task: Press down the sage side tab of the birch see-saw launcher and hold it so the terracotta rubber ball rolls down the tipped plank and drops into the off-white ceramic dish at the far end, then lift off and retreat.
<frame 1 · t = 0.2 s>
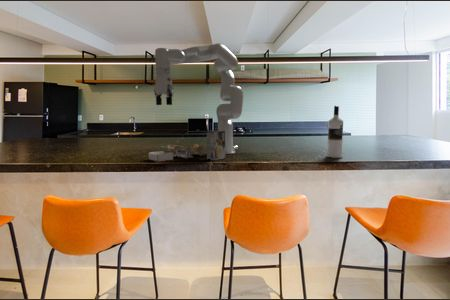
hand: (164, 104, 166), 31 cm above the countertop, tool pointing down, fingers open, 9 cm apart
vodka: (334, 157, 181), on the countertop
launcher: (182, 146, 188), point 6 cm above the countertop, hinge at -10.9°, touching ball
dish: (160, 159, 174), on the countertop
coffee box: (216, 159, 176), on the countertop
stand: (183, 156, 185), on the countertop
ball: (195, 147, 190), point 5 cm above the countertop, tilted 9°, touching launcher
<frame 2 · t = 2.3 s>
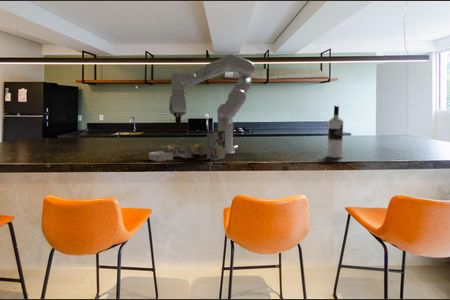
hand: (178, 123, 191), 19 cm above the countertop, tool pointing down, fingers closed
nothing on the countertop moved.
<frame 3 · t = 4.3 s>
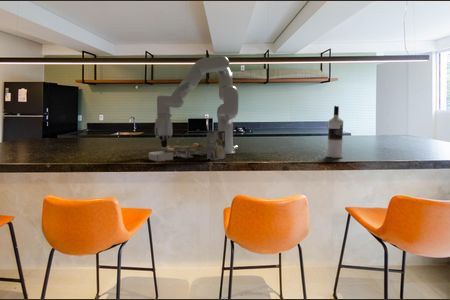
hand: (164, 146, 185), 6 cm above the countertop, tool pointing down, fingers closed
launcher: (181, 146, 188), point 6 cm above the countertop, hinge at -5.8°, touching ball, gripper
ball: (195, 145, 190), point 6 cm above the countertop, touching launcher
everything else where it was.
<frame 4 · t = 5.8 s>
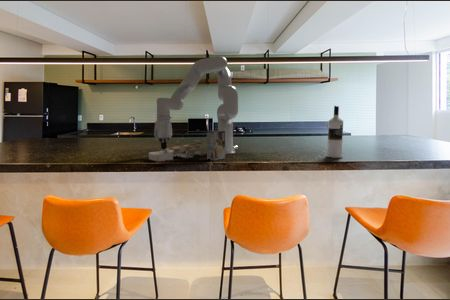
hand: (163, 149, 185), 4 cm above the countertop, tool pointing down, fingers closed
launcher: (181, 146, 187), point 6 cm above the countertop, hinge at 3.6°, touching gripper
ball: (156, 156, 172), point 2 cm above the countertop, tilted 172°, touching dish
everything else where it was.
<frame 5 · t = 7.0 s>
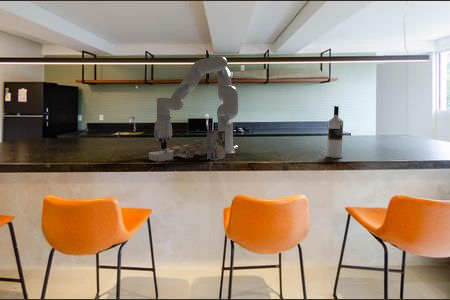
hand: (163, 149, 185), 4 cm above the countertop, tool pointing down, fingers closed
nothing on the countertop moved.
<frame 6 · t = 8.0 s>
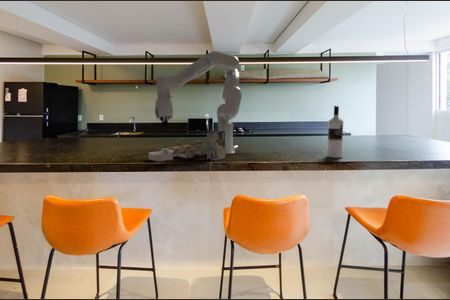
hand: (165, 128, 184), 17 cm above the countertop, tool pointing down, fingers closed
launcher: (181, 146, 187), point 6 cm above the countertop, hinge at 3.6°
everything else where it was.
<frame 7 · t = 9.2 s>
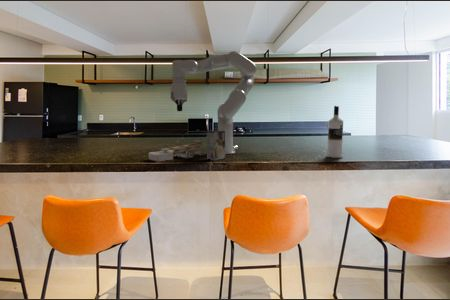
hand: (179, 111, 191), 27 cm above the countertop, tool pointing down, fingers closed
nothing on the countertop moved.
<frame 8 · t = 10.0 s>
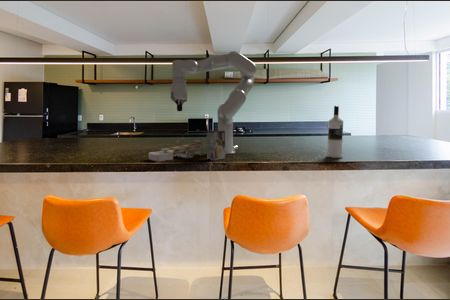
hand: (179, 111, 191), 27 cm above the countertop, tool pointing down, fingers closed
nothing on the countertop moved.
at the end: ball inside the target area on the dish (2.6 cm from its centre), point 2.1 cm above the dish's base; ball point 2.1 cm above the countertop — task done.
